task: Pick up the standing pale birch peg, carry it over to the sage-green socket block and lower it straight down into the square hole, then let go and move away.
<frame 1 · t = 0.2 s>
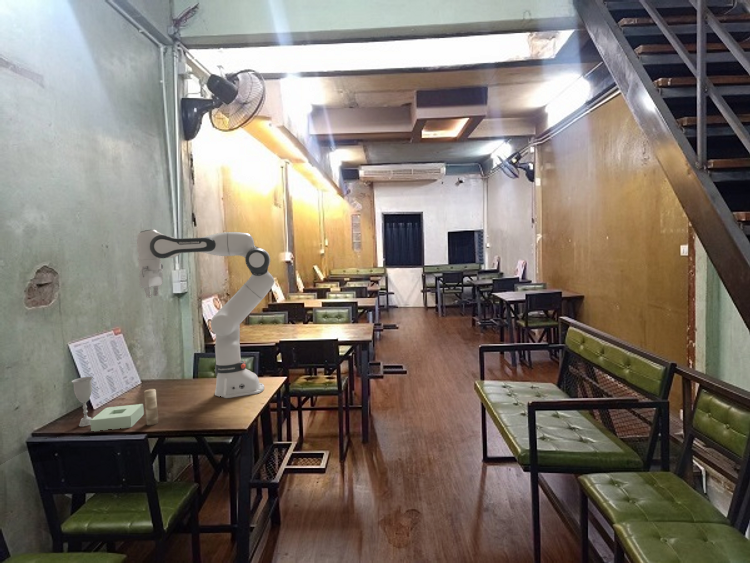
hand: (152, 296, 194), 48 cm above the table, tool pointing down, fingers open, 8 cm apart
socket block: (118, 422, 170), on the table
chalice: (86, 424, 171), on the table
peg: (152, 423, 168), on the table
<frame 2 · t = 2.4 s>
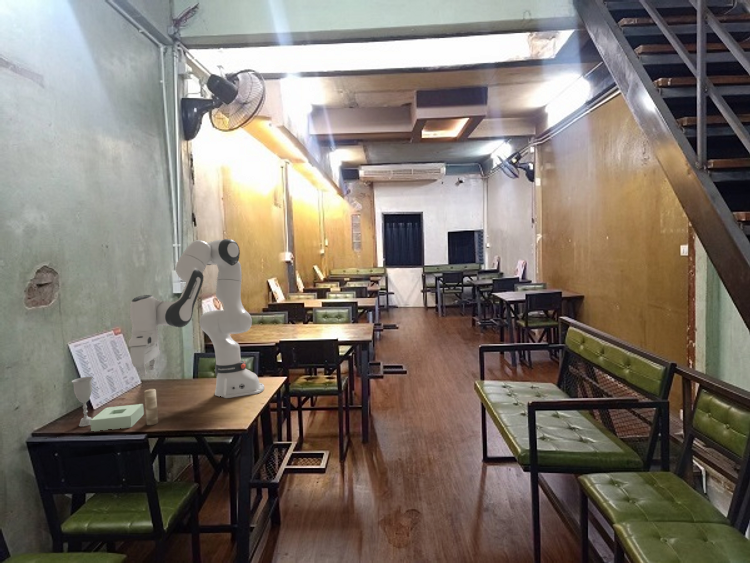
hand: (148, 372, 167), 20 cm above the table, tool pointing down, fingers open, 8 cm apart
nothing on the table moved.
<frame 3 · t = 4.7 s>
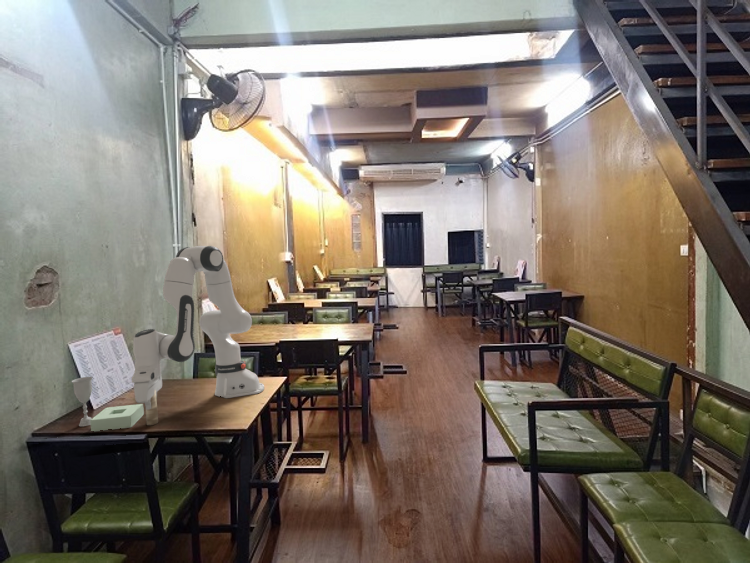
hand: (151, 406, 168), 7 cm above the table, tool pointing down, fingers closed on peg, 4 cm apart
peg: (152, 423, 168), on the table, touching gripper
everything else where it was.
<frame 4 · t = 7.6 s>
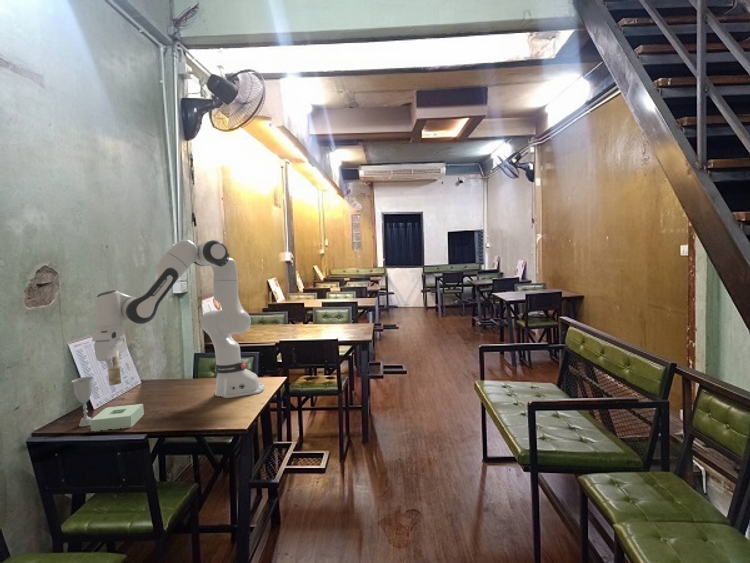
hand: (113, 367, 169), 22 cm above the table, tool pointing down, fingers closed on peg, 4 cm apart
peg: (115, 383, 169), point 16 cm above the table, touching gripper
everything else where it was.
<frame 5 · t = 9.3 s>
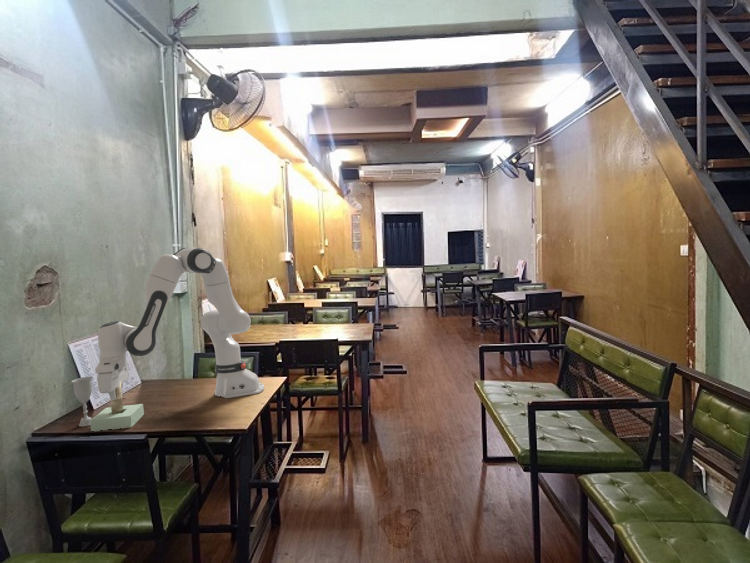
hand: (116, 397, 170), 10 cm above the table, tool pointing down, fingers closed on peg, 4 cm apart
peg: (117, 413, 170), point 4 cm above the table, touching gripper
everything else where it was.
when the fingers open (8 cm above the table, at t = 10.8 s): peg stays where it is, resting in socket block.
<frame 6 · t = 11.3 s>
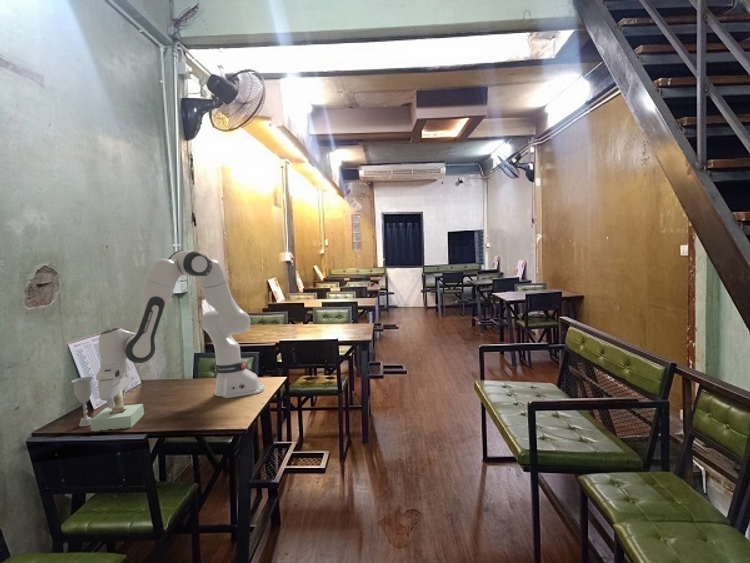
hand: (117, 403, 170), 8 cm above the table, tool pointing down, fingers open, 8 cm apart
peg: (119, 422, 171), resting in socket block
everything else where it was.
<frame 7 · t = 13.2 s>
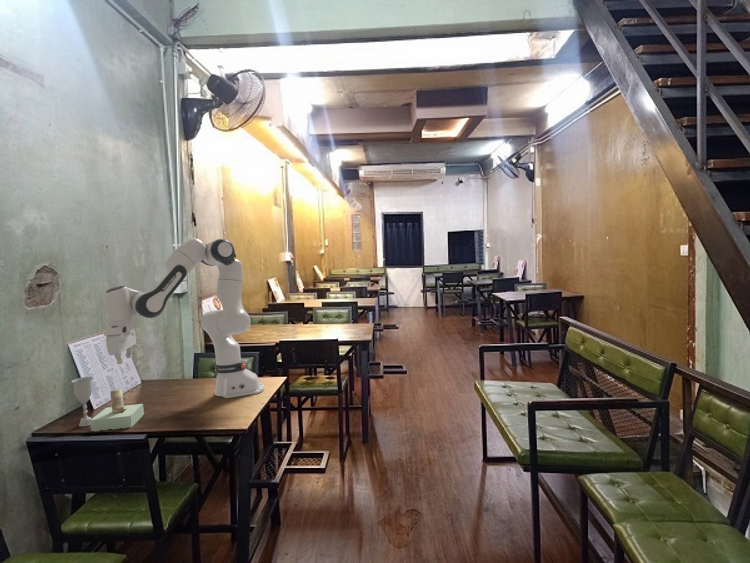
hand: (124, 360, 173), 24 cm above the table, tool pointing down, fingers open, 8 cm apart
nothing on the table moved.
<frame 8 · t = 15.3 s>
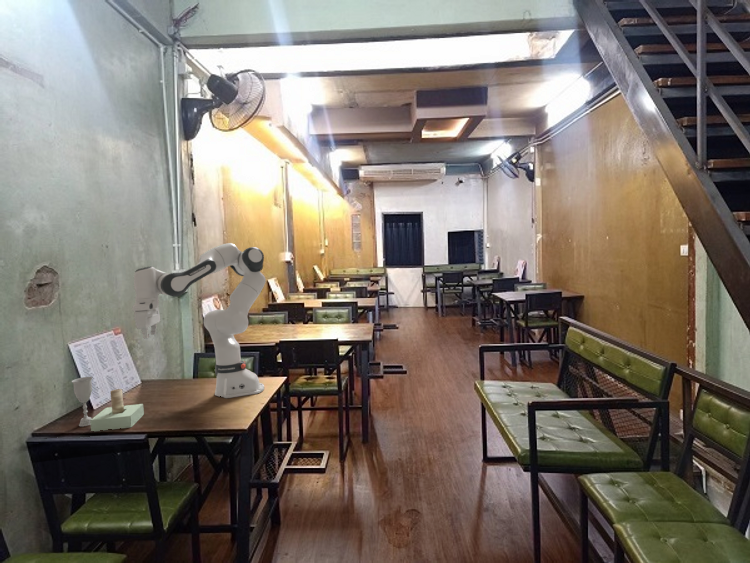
hand: (150, 336, 186), 31 cm above the table, tool pointing down, fingers open, 8 cm apart
nothing on the table moved.
at the end: peg 0.1 cm off-centre on the socket block, point 0.0 cm above the socket block's base; peg tilted 0°; the gripper is holding nothing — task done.
